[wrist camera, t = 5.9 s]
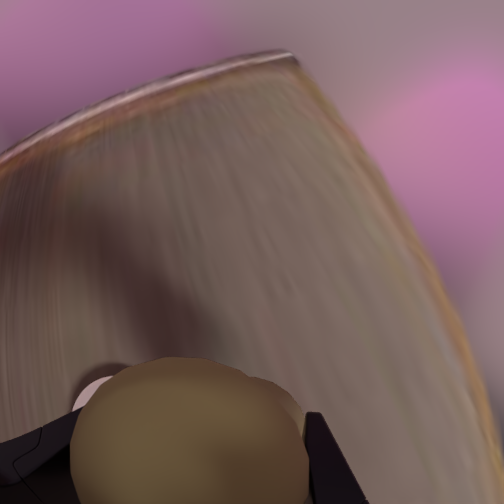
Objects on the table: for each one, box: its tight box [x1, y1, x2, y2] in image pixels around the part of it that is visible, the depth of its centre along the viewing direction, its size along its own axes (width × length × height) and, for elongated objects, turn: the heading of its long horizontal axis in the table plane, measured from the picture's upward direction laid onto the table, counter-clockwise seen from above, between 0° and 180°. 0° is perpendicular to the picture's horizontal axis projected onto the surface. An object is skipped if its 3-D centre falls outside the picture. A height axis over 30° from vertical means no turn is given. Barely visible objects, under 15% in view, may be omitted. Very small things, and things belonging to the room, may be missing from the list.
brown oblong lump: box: [70, 357, 309, 504], centre depth 9 cm, size 6×6×11 cm
